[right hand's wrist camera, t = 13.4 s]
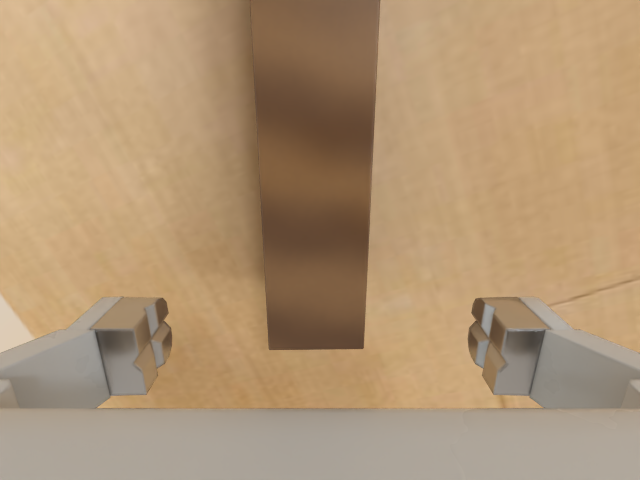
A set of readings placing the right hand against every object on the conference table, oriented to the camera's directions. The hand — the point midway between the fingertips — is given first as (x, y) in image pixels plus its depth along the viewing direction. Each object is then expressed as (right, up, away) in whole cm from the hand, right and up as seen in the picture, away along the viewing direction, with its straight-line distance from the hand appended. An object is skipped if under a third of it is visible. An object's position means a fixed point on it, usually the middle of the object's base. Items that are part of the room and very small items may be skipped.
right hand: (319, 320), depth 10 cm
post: (0, +28, +8) cm, 29 cm away
